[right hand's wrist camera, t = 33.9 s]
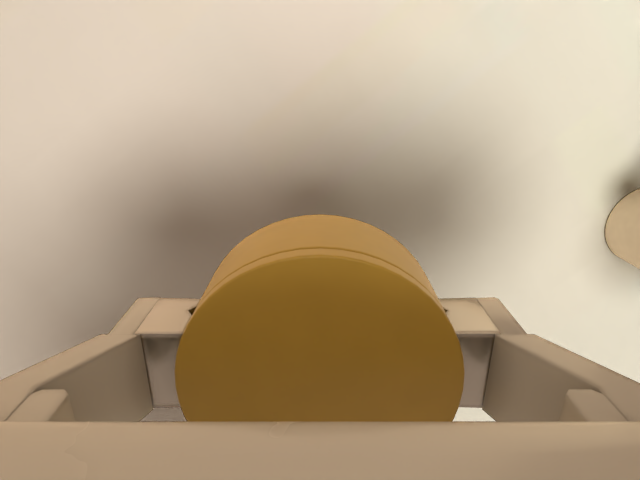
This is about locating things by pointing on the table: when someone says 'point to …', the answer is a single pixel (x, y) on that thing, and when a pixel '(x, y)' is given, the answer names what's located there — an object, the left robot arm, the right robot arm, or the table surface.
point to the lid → (319, 332)
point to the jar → (625, 229)
